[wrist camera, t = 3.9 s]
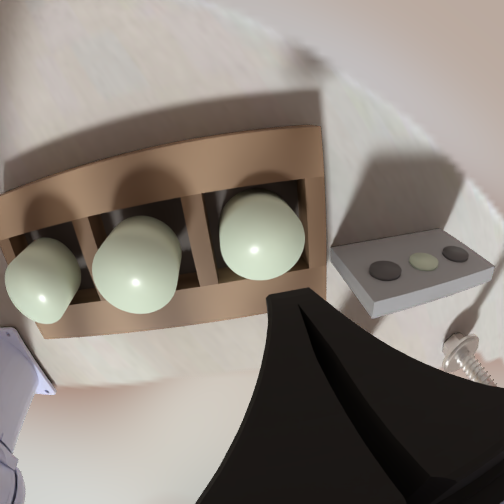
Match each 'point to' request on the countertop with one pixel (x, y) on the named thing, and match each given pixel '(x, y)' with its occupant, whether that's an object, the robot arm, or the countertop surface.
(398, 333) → the countertop surface
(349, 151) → the countertop surface
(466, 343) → the screw
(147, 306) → the button mid
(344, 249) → the card
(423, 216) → the countertop surface
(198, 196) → the wooden compartment tray
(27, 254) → the button
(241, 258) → the button
